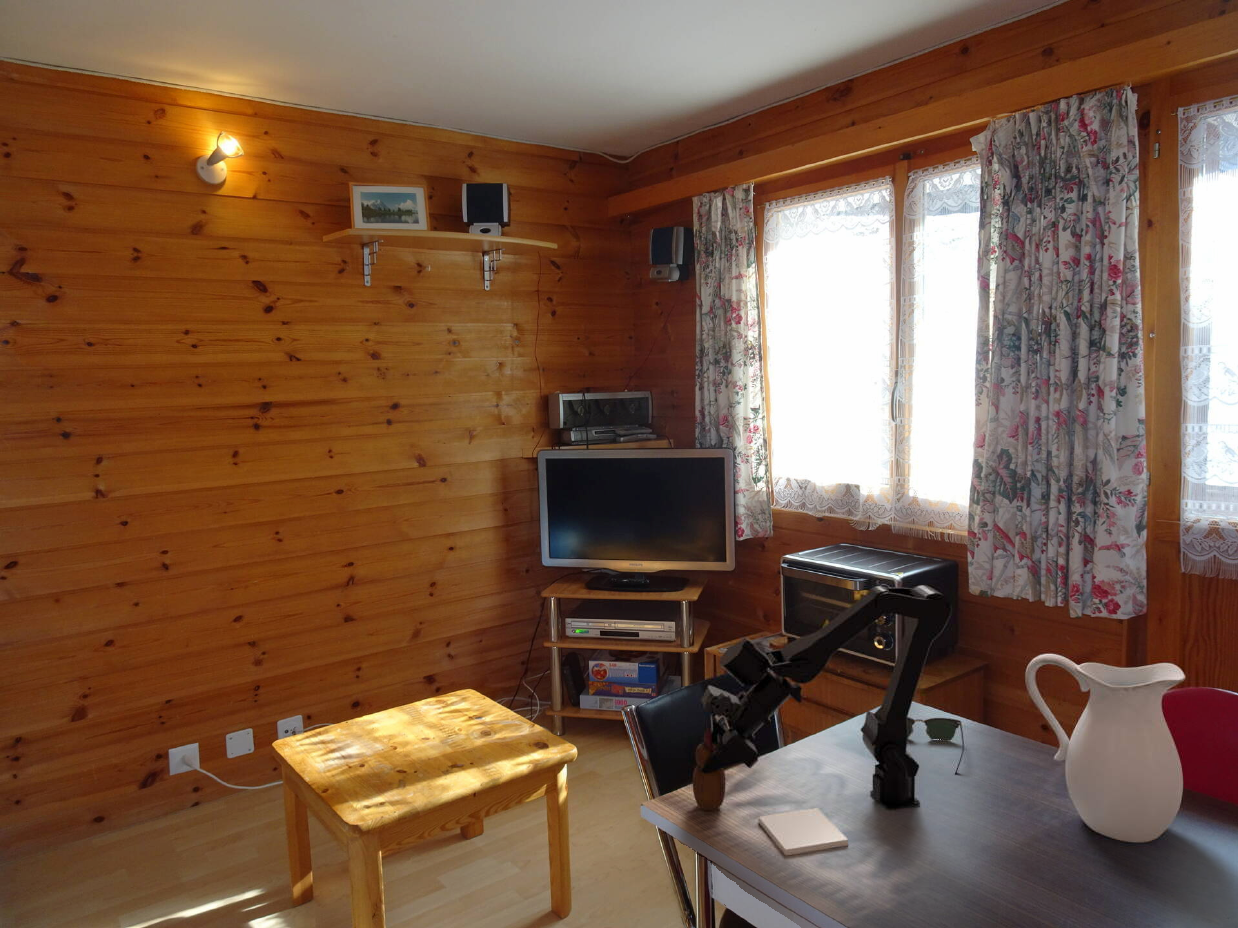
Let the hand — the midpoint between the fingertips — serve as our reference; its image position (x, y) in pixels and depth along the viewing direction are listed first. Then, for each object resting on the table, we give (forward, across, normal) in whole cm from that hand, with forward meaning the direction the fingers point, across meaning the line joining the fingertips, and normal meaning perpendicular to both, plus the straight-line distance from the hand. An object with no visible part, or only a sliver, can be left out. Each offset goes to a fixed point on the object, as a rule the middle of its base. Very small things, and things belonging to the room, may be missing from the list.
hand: (700, 764), depth 155 cm
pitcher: (-41, +10, +53) cm, 68 cm away
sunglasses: (-27, -18, +40) cm, 51 cm away
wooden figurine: (+4, 0, +6) cm, 8 cm away
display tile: (-5, +10, +17) cm, 20 cm away
